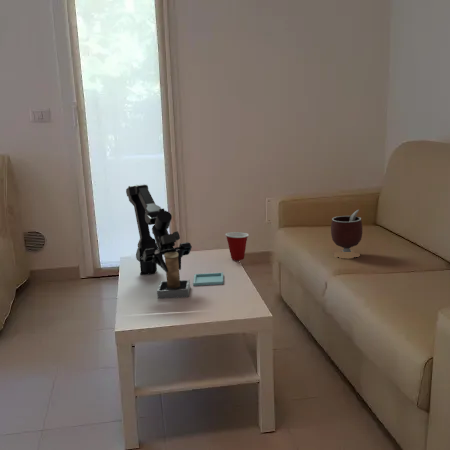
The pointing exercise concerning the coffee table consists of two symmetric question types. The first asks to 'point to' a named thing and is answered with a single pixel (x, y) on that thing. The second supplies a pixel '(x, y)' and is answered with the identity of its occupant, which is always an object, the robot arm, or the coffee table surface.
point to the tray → (208, 279)
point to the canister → (172, 269)
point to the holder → (173, 290)
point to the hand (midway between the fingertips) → (173, 270)
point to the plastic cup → (237, 244)
